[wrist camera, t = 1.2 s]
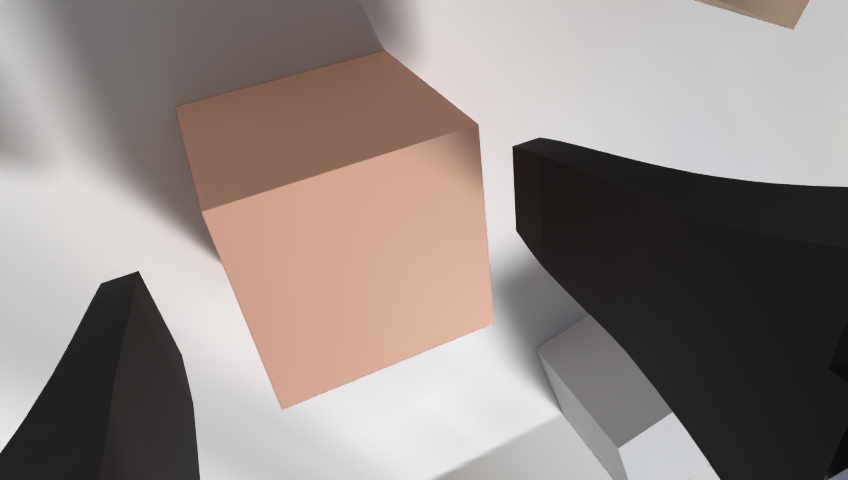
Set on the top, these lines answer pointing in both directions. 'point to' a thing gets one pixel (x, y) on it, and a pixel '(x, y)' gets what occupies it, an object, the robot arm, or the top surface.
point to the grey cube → (617, 407)
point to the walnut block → (765, 9)
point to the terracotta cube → (343, 218)
